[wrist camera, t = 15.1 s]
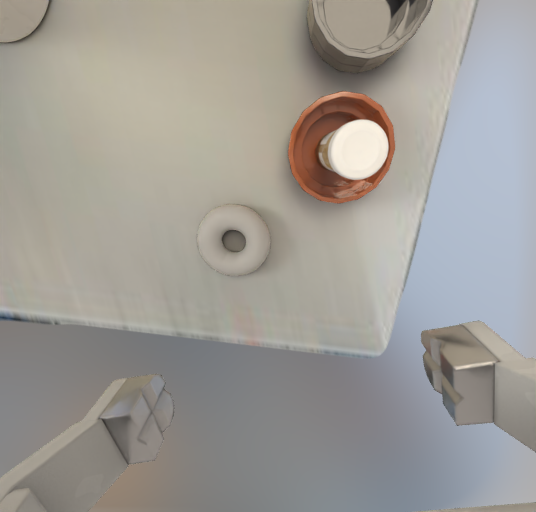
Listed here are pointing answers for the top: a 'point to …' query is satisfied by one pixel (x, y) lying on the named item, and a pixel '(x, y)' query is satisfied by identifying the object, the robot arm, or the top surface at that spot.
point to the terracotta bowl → (326, 121)
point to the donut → (242, 222)
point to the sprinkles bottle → (353, 149)
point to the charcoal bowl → (362, 30)
